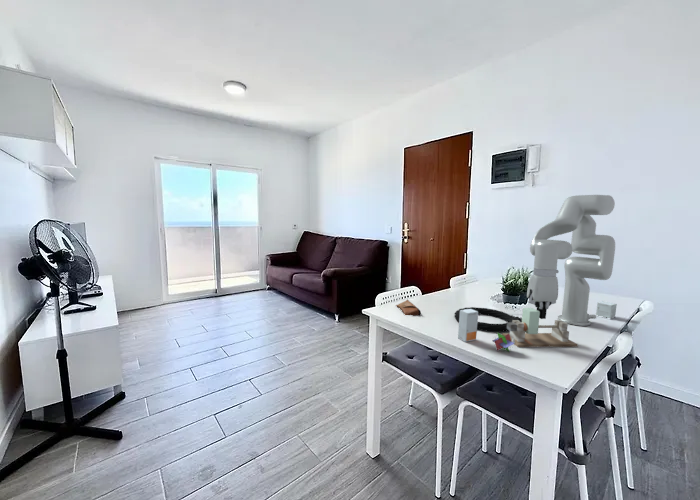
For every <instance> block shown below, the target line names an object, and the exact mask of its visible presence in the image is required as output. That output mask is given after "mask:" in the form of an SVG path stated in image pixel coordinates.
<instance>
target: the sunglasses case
mask: <svg viewBox="0 0 700 500" xmlns="http://www.w3.org/2000/svg"><path fill="white" fill-rule="evenodd" d="M396 306H397V307H396ZM395 307H396V308H398V309H399V308H400V309H401V310H402V311H401V310H400V309H399V310H400V311H401V312H402V313H403V315H404V314H405V315H413V316H421V314H422V313H421V310H420V309H419V308H418V307H417V306H416V305H415V304H414V303H412V302H411V301H410V300H409V299H406V300H405V301H402V302H400V303H398V304H396V305H395ZM405 315H404V316H405Z"/></svg>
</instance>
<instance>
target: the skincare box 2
mask: <svg viewBox="0 0 700 500" xmlns="http://www.w3.org/2000/svg"><path fill="white" fill-rule="evenodd" d="M617 306H618V304H617V303H613V302H609V301H605V300H601V301H598V302H597V303H596V313H595V315H598V316H597V317H599V316H603V317H607V318H612V319H614V318H613V317H616V312H617ZM603 317H602V318H603ZM607 318H606V319H607Z"/></svg>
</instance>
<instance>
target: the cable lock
mask: <svg viewBox="0 0 700 500" xmlns="http://www.w3.org/2000/svg"><path fill="white" fill-rule="evenodd" d="M465 309H473V310H475V311H478V315H482V316H491V317H493V318H498V319H500V320H502V321H506V323H489V322H484V321H483V322H482V321H478V322H477V331H478V330H479V331H483V332H484V331H485V332H493V333H494V332H495V333H497V332H498V333H503V332H504V333H506V332H510V330H508V329H507V322H512V320H519V321H520V322H522V316H520V317H519V316H515V315H513V314H509V313H507V312H505V311H502V310H497V309H493V308H487V307H475V306H474V307H473V306H471V307H470V306H469V307H464V308H459V309H457V310H456V311H455V312H454V318H455V320H456V321H457V322H458V323H459V316H460V310H465Z"/></svg>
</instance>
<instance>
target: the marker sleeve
mask: <svg viewBox="0 0 700 500" xmlns="http://www.w3.org/2000/svg"><path fill="white" fill-rule="evenodd" d="M539 316H540V311H538V310H537V309H536V308H533V307H522V316H521V318H522V323H526V324H527V327H528V329H527V331H524V332H525V333H527V334H538V333H539V328H538V327H539V325H540V318H539Z"/></svg>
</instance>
